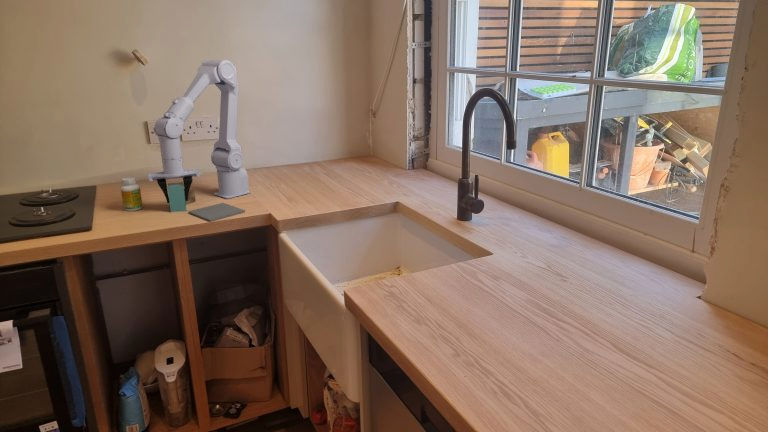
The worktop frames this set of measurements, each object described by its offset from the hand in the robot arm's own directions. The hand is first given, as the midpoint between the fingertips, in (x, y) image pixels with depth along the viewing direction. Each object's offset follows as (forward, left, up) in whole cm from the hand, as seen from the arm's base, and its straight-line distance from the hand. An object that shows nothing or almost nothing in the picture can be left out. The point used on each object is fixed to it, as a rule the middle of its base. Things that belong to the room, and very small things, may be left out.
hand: (177, 201), depth 161 cm
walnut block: (-5, -5, -3) cm, 8 cm away
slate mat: (-6, +12, -3) cm, 14 cm away
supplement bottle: (+9, -11, -3) cm, 14 cm away
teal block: (0, 0, -3) cm, 3 cm away
